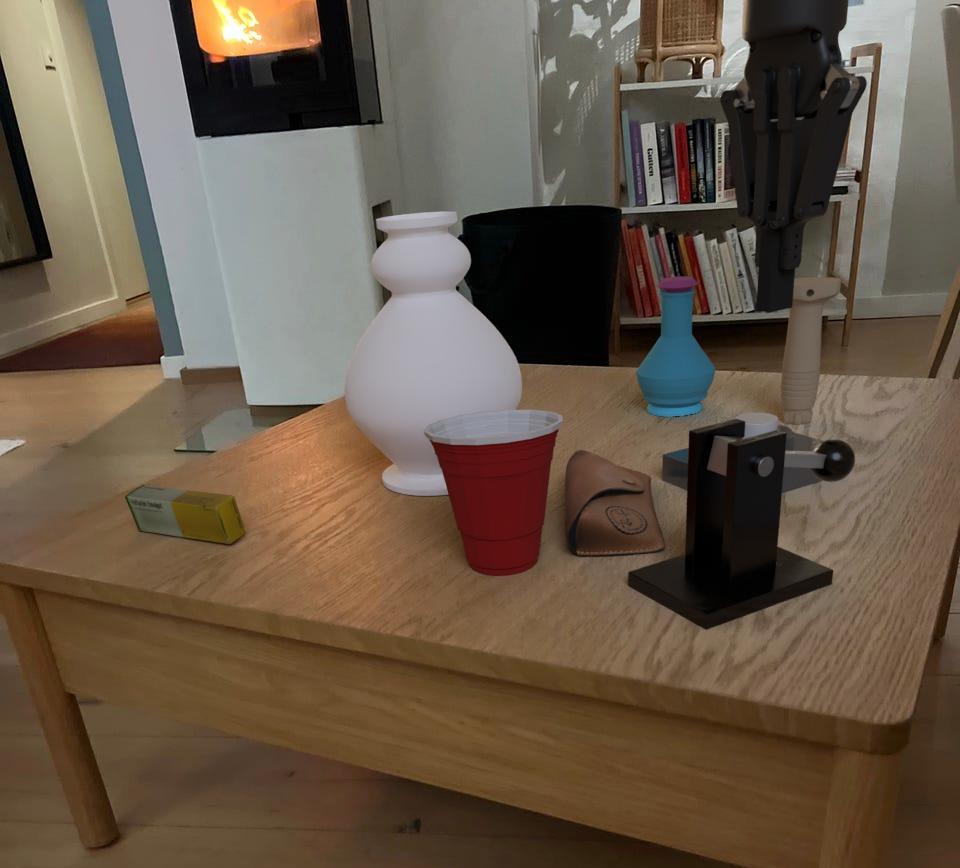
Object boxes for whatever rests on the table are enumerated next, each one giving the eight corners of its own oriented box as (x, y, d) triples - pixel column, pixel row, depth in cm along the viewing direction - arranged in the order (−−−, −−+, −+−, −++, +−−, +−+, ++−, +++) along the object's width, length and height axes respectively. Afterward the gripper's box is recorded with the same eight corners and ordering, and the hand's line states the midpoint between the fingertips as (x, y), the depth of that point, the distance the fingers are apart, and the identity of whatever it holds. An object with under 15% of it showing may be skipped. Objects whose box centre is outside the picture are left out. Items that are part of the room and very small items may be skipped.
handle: (765, 416, 108) (775, 279, 101) (823, 415, 107) (838, 276, 100) (768, 428, 104) (778, 286, 97) (828, 427, 103) (844, 283, 96)
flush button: (755, 427, 91) (757, 410, 90) (786, 436, 88) (787, 418, 87) (724, 436, 89) (725, 418, 89) (753, 445, 86) (754, 426, 85)
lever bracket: (747, 547, 76) (756, 403, 71) (832, 584, 69) (850, 427, 64) (627, 585, 72) (627, 435, 66) (706, 630, 65) (713, 465, 59)
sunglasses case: (672, 547, 76) (630, 482, 74) (598, 590, 78) (555, 528, 76) (651, 475, 92) (616, 419, 89) (590, 513, 94) (554, 459, 92)
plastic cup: (553, 529, 83) (547, 393, 77) (582, 578, 73) (578, 428, 68) (432, 544, 82) (417, 408, 76) (445, 596, 72) (429, 445, 67)
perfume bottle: (649, 397, 119) (650, 273, 112) (721, 401, 115) (727, 271, 108) (626, 417, 112) (626, 285, 105) (702, 421, 108) (707, 284, 101)
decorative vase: (486, 440, 108) (469, 203, 97) (555, 482, 94) (545, 209, 82) (338, 469, 103) (300, 222, 91) (387, 518, 88) (349, 231, 76)
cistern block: (769, 451, 97) (772, 408, 95) (844, 475, 89) (850, 428, 87) (661, 480, 92) (662, 436, 90) (732, 509, 84) (734, 460, 82)
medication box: (136, 533, 90) (121, 495, 88) (156, 520, 92) (142, 483, 90) (229, 546, 85) (216, 505, 83) (248, 532, 87) (236, 492, 84)
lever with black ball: (824, 476, 73) (836, 435, 72) (857, 487, 71) (869, 444, 70) (700, 473, 67) (710, 428, 66) (731, 484, 64) (742, 438, 63)
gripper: (697, -11, 72) (689, 308, 84) (830, -43, 62) (800, 325, 73) (769, -12, 75) (751, 295, 87) (907, -43, 65) (867, 310, 76)
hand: (774, 308), depth 80 cm, fingers closed
